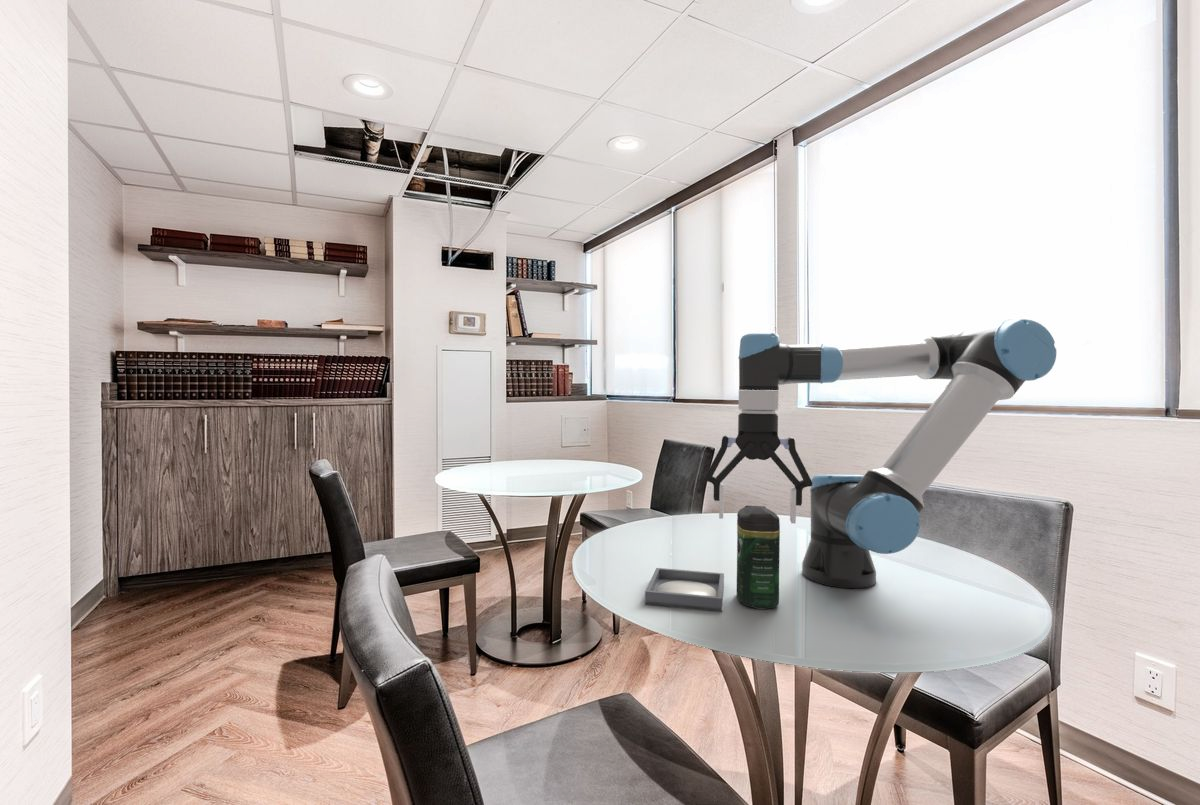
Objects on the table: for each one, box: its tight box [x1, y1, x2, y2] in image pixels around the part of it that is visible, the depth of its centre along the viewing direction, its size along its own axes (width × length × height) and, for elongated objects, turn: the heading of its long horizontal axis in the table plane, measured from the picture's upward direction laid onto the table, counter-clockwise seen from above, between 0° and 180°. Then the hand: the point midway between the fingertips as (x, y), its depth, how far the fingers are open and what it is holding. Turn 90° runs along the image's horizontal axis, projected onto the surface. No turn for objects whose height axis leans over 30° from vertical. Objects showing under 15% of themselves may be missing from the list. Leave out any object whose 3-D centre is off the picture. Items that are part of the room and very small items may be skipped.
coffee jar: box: [736, 505, 781, 610], centre depth 105 cm, size 10×8×19 cm
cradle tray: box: [644, 567, 725, 613], centre depth 109 cm, size 15×15×2 cm
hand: (756, 519), depth 105 cm, fingers open, 13 cm apart
